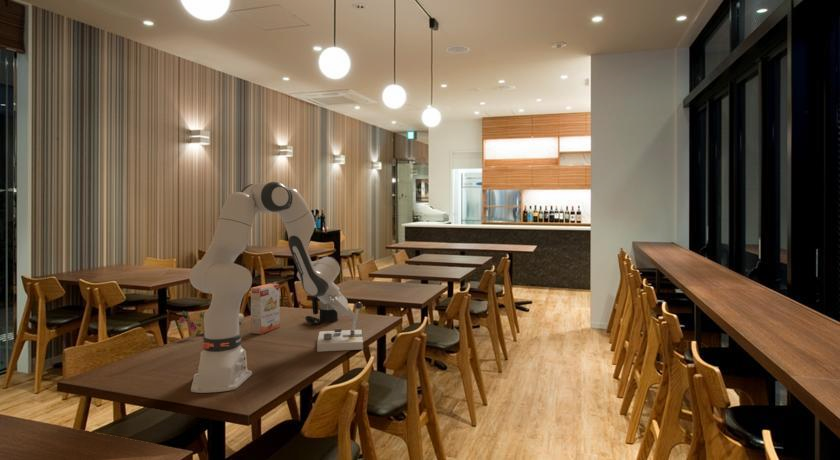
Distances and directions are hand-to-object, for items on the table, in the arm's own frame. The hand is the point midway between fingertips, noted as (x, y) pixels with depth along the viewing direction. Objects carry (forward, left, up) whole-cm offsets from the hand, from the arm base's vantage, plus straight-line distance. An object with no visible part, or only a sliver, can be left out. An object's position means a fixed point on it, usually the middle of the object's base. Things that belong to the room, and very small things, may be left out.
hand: (353, 316), depth 217 cm
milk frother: (+39, +15, -11) cm, 44 cm away
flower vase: (+30, +63, -11) cm, 71 cm away
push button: (-5, +11, -8) cm, 14 cm away
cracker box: (+27, +40, -11) cm, 49 cm away
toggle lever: (-1, +1, -7) cm, 7 cm away
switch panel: (-1, +6, -11) cm, 12 cm away
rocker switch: (+3, +7, -7) cm, 10 cm away
